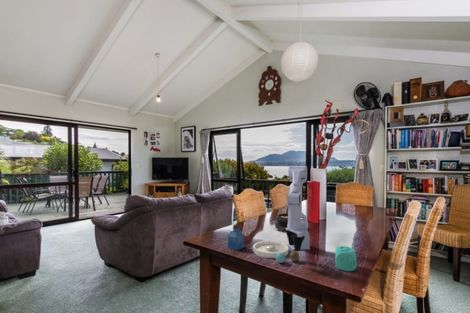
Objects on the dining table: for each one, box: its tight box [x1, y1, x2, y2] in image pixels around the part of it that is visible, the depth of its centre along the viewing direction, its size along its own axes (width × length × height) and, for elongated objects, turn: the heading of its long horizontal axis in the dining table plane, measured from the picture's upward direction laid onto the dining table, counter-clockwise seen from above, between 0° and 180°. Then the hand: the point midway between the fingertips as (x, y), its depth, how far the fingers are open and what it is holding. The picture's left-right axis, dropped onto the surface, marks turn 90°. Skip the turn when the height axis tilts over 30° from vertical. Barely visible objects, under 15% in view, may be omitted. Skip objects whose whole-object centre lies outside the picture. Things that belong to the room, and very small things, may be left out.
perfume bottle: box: [227, 224, 245, 251], centre depth 133 cm, size 6×6×12 cm
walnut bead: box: [289, 250, 300, 262], centre depth 115 cm, size 4×4×4 cm
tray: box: [252, 240, 290, 259], centre depth 127 cm, size 18×18×2 cm
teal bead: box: [275, 253, 286, 264], centre depth 113 cm, size 4×4×4 cm
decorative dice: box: [334, 245, 357, 272], centre depth 109 cm, size 8×8×8 cm
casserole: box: [274, 213, 288, 231], centre depth 172 cm, size 25×19×8 cm
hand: (294, 247), depth 115 cm, fingers open, 7 cm apart
